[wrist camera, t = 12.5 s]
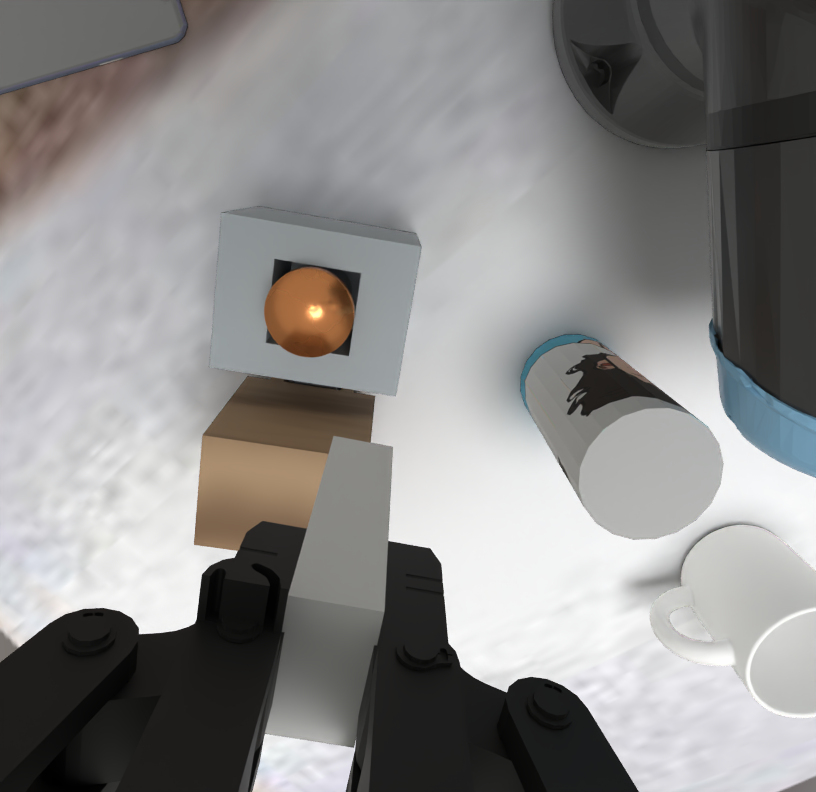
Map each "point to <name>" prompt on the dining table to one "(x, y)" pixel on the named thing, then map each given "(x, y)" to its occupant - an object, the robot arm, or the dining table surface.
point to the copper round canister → (310, 310)
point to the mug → (749, 615)
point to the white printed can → (620, 439)
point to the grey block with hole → (302, 247)
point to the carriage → (271, 455)
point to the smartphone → (79, 35)
